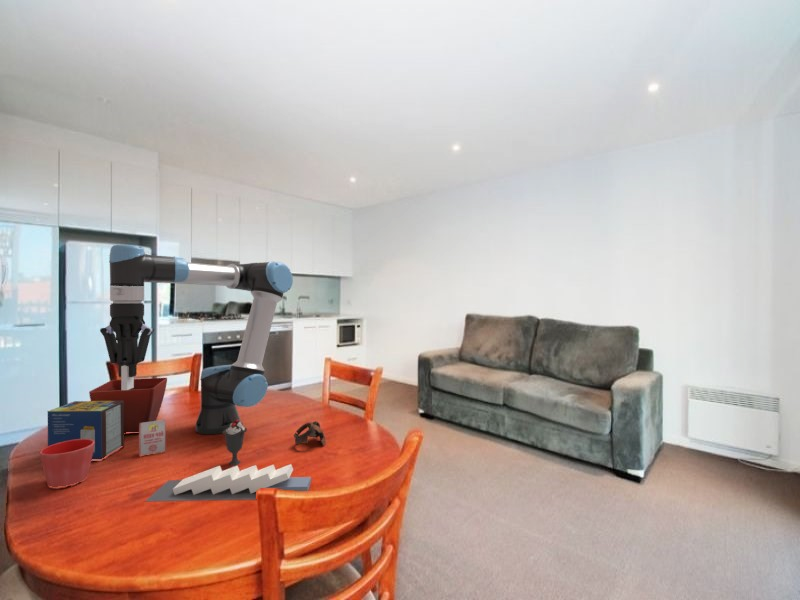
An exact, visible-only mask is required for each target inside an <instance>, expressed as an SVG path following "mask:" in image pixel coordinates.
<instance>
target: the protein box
mask: <svg viewBox="0 0 800 600" xmlns="http://www.w3.org/2000/svg"><path fill="white" fill-rule="evenodd" d="M123 409H124V408H123V401H91V400H84V401H83V400H81V401H80V400H77V401H76V400H75V401H71V402H69V403H66V404H64V405H60V406H58V407H55V408H52V409H50V410H47V447H48V446H50V445H53V444H57V443H60V442H64V441H69V440H76V439H91V440H94V441H95V445H94V450H93V455H92V459H102V458H104V457H105V456H107V455H108V454H110V453H112V452H113V451H115V450H117V449H118V448H120V447H121V446H123V445H124V446H125V442H124V440H125V439H124V438H125V435H124V411H123Z"/></svg>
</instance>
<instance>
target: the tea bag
mask: <svg viewBox="0 0 800 600" xmlns="http://www.w3.org/2000/svg"><path fill="white" fill-rule="evenodd" d="M161 452H165V453H166V419H158V420H156V421H151V422H144V423H139V434H138V457H139V456H140V455H147V454H153V453H160V454H162V453H161Z"/></svg>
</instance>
